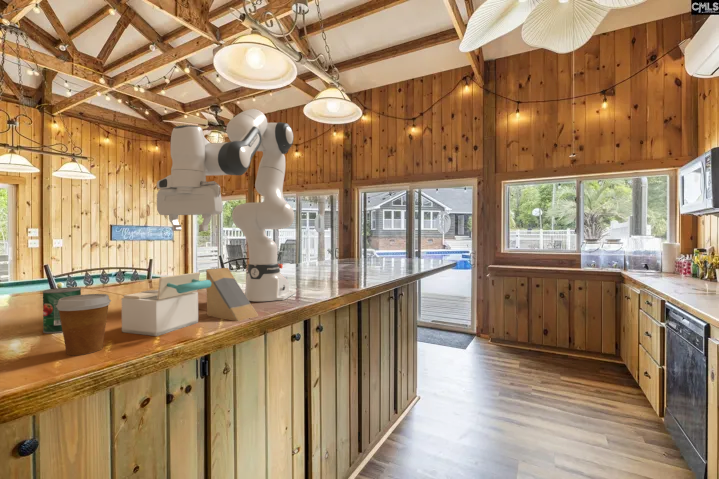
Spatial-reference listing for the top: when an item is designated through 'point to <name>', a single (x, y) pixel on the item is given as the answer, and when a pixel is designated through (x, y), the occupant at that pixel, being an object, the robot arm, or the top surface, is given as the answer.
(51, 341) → the top surface
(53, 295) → the canned tomato
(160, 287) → the front flap
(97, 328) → the disposable coffee cup
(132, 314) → the white carton
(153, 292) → the back flap
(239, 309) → the sandwich container
